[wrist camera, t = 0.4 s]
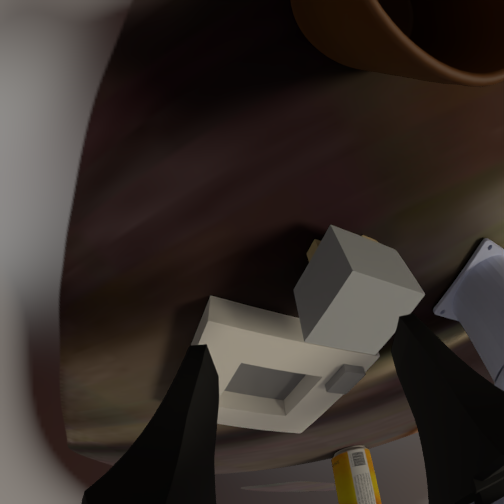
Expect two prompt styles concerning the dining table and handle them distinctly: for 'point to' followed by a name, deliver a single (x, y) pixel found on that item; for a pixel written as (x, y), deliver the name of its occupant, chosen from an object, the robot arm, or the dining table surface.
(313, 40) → the mug
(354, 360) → the socket
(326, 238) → the plug
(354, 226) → the dining table surface
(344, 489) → the yellow supplement bottle
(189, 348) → the robot arm
